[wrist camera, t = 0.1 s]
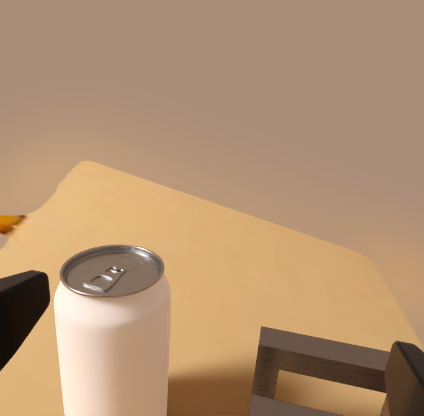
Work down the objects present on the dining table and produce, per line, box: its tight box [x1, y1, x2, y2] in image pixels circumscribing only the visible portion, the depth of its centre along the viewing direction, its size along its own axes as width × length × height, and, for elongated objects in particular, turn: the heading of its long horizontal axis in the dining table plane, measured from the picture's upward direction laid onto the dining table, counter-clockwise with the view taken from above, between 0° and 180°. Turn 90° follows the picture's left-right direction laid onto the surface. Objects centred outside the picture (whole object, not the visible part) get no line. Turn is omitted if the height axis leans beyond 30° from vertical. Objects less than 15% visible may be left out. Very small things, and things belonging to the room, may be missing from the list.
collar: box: [252, 326, 390, 416], centre depth 21 cm, size 2×9×9 cm, turn 78°
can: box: [54, 245, 171, 416], centre depth 22 cm, size 6×6×12 cm
